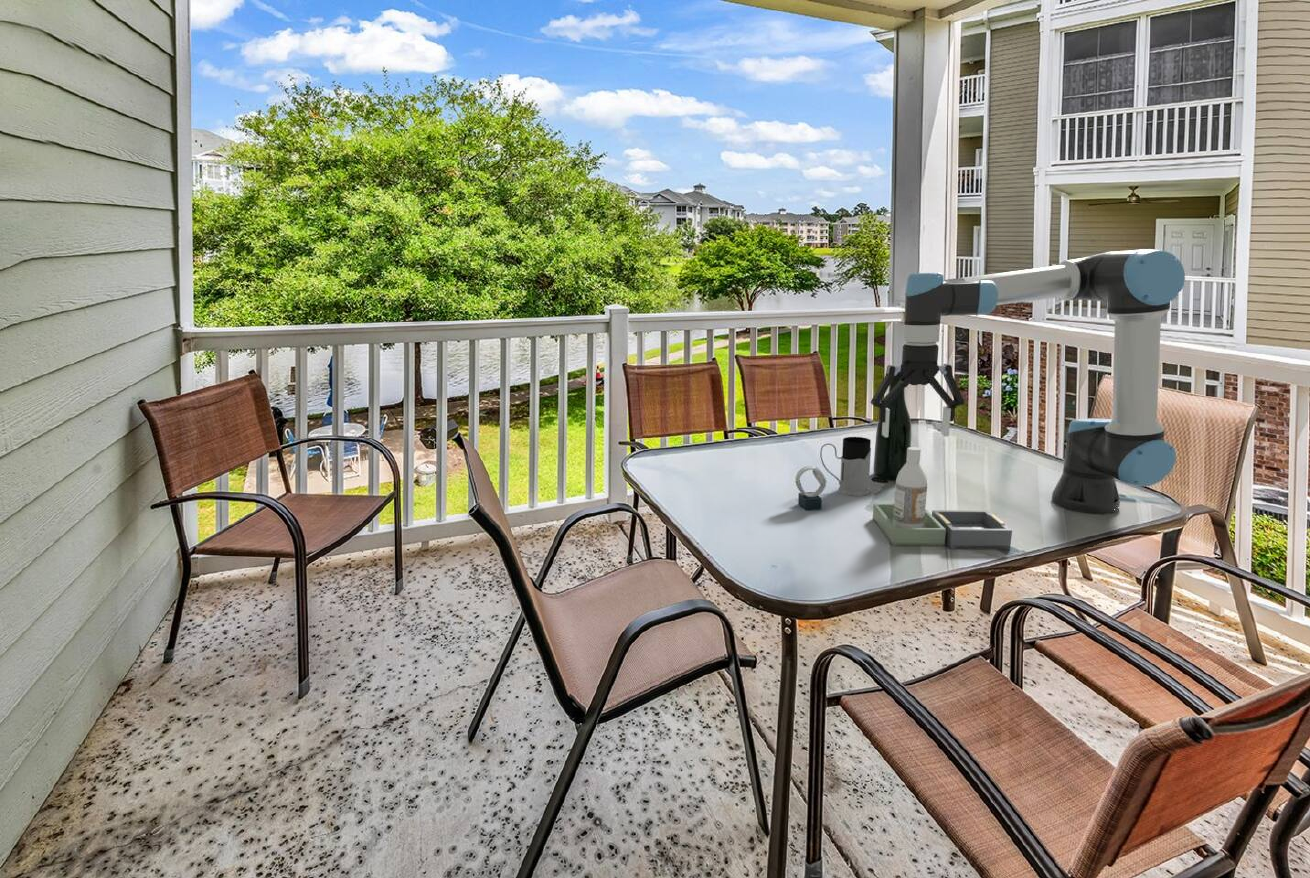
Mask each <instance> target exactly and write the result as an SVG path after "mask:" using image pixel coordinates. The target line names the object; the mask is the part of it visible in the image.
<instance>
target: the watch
mask: <svg viewBox="0 0 1310 878" xmlns="http://www.w3.org/2000/svg"><path fill="white" fill-rule="evenodd" d="M810 470H812V474H813V476H814V478H815V479H816V480H817V483H818V484H819V487H818V488H817V489H816V490H815V491H807V492H805V490H804V489H803V486H802V483H801V477H802V475H803V474H804V473H806V472H807V471H810ZM794 482H795V485H796V487H797V489H798V491H799V492H798V506H800V507H801V508H803V510H804V511H807V512H808V511H821V510H822V505H823V503H822V502H823V501H822V499H823V498H822V497H821V496H819V495H821V494H822V493H823V491H824V490H825V489H826V486H827V484H826V483H828V482H827V478H826V476H825V475H824V474H823V472H822V471H821V469H820V468H819V467H817V466H813V465H808V466H804V467H802V468H800V469H799V470H798V472H797V474H796V476H795V481H794Z"/></svg>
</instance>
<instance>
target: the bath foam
mask: <svg viewBox="0 0 1310 878" xmlns="http://www.w3.org/2000/svg"><path fill="white" fill-rule="evenodd" d="M921 450H922V449H921V448H919V447H917V446H911V447H909V448H907V460H906V464H905V465H904V466H903V467H902V469H901V470H900V471H899V473H898V475H897V479H896V480H895V488H894V489H895V490H894V503H893V504H894V517H893V525H894V526H895V527H896V528H924V520H925V509H926V505H927V496H928V495H927V494H928V493H927V492H928V478H927V475H926V472H925V470H924V469H923V467H922V465H921V464H920V461H921Z"/></svg>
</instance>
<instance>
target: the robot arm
mask: <svg viewBox="0 0 1310 878" xmlns="http://www.w3.org/2000/svg"><path fill="white" fill-rule="evenodd" d="M1185 280H1186V274H1185V268H1184V265H1183V264H1182V262H1181V261H1180V259H1179V258H1178V257H1177V256H1175V255H1174V254H1173V253H1171V252H1169V251H1167V250H1162V249H1151V248H1148V249H1147V248H1146V249H1145V248H1143V249H1134V250H1120V251H1117V250H1115V251H1107V252H1102V253H1101V252H1100V253H1097V254H1094V255H1088V256H1084V257H1080V258H1075V259H1067V260H1063V261H1062V262H1060V263H1058V265H1055V266H1053V265H1052V266H1047V267H1045V266H1044V267H1037V268H1030V269H1029V268H1028V269H1022V270H1013V271H1006V272H1005V271H1003V272H999V273H998V272H997V273H990V274H989V273H988V274H979V275H973V276H965V277H958V278H950V279H949V278H947V279H944V274H943V273H942V272H918V273H917V272H916V273H911V274H909V275H908V277H907V280H906V286H905V292H904V296H905V301H904V303H905V305H904V323H903V338H902V339H903V340H902V341H903V342H904V343H905V344H903V345H902V352H901V353H902V354H901V365H900V366H898V365H897V366H896V365H892V364H889V365H887V367H886V372H885V375H884V377H883V378H882V380H881V383H880V384H879V385H878V387H877V390H875V391H876V392H875V393H874V395H873V397H872V398H871V401H870V404H871V405H872V406H873V407H876V408H878V418H877V420H879V422H881V423H882V435H883V436H884V437H888V434H889V415H890V409H888V408H887V407H888V405H889V404H890V403H891V402H892V401H893V400H894V399H895V398H896V397H897V396H898V395H899V393H900V392H901V391H902V390H903V389H904V388H905V389H906V388H907V387H908V386H909V385H911V386H919V385H921V386H927V385H928V384H929V385H930V386H931V388H933V390H934V391H935V392H936V394H937V395H939V398H941V400H942V401H943V402H944V403H945V404H946V406H942V416H941V417H942V419H941V432H940V434H941V435H943V436H944V437H950V427H951V422H954V420H955V411H956V409H957V408H958V406H964V404H965V400H964V397H963V395H962V394H961V391H960V389H959V386H958V385H957V382H956V380H955V378H954V375H953V366H952V365H951V364H949V363H943V364H940V365H939V364H938V362H939V361H938V360H939V347H940V346H939V344H937V343H938V342H940V332H941V331H940V330H941V318H942V317H948V316H980V315H989V314H991V313H992V312H993V311H994V310H995V309H996V307H997V306H999V305H1001V306H1002V305H1007V304H1014V303H1017V304H1018V303H1025V302H1033V301H1041V300H1048V299H1049V300H1050V299H1058V298H1059V299H1060V300H1062V301H1064V302H1065V301H1066V302H1067V301H1068V302H1069V301H1078V300H1080V301H1081V300H1082V301H1093V302H1094V301H1095V302H1106V303H1107V304H1106V305H1107V307H1106V314H1107V315H1108V316H1109V317H1111V318H1112V319H1113V320H1114V337H1113V338H1114V347H1113V380H1112V381H1113V383H1112V384H1113V386H1112V388H1113V389H1112V418H1076V419H1073V420H1071V421H1070V423H1069V425H1068V429H1067V432H1066V444H1065V453H1064V460H1063V468H1062V469H1063V470H1062V474H1061V476H1060V478H1059V480H1058V481H1057V483H1056V485H1055V487H1054V489H1053V491H1052V493H1051V494H1052V495H1051V502H1052V503H1053V504H1055V505H1056V506H1058V507H1060V508H1063V509H1066V510H1070V511H1075V512H1079V513H1086V514H1094V515H1095V514H1097V515H1100V514H1101V515H1102V514H1103V515H1105V514H1113V513H1117V512H1118V511H1119V510H1120V507H1121V506H1120V505H1121V500H1120V495H1119V491H1118V487H1117V484H1116V483H1117V482H1116V480H1117V479H1118V480H1120V481H1121V482H1122V483H1125V484H1129V485H1133V486H1136V487H1150V486H1155V485H1156V484H1159V483H1160V482H1162V481H1164V480H1165V478H1166V477H1168V476H1169V475H1170V473H1171V472H1172V471H1173V470H1174V467H1175V465H1176V461H1177V452H1176V450H1175V448H1174V446H1172V444H1170V443H1169V442H1167V441H1166V440H1165V426H1164V425H1163V424H1161V422H1159V421H1158V402H1159V401H1158V400H1159V381H1160V380H1159V378H1160V377H1159V376H1160V374H1159V373H1160V354H1161V353H1160V351H1161V350H1160V348H1161V347H1160V346H1161V327H1162V323H1161V322H1162V317H1163V316H1164V315H1165V314H1167V313H1168V312H1169V311H1170V310H1171V302H1172V301H1173V300H1175V299H1176V298H1177V297H1178V296H1179V292H1182V290H1183V288H1184V286H1185V282H1186V281H1185ZM939 371H940V374H941V375H943V378H944V379H945V382H946V384H947V386H948V390H949V391H950V393H951V395H952V397H953V399H952V397H951V396H950V395H949V394H948V393H947V391H946V390H945V389H944V388H943V387H942V385H941V384H940V383H939V381H938V380H937V379H936V375H937V374H938V373H939ZM898 372H900V373H901V374H902V376H903V377H902V378H901V379H900V380H899V381H898V383H897V384H896V385H895V386H894V387H893V389H892V390H891V391H890V392H889V391H888V390H889V385H890V384H891V382H892V380H893V378H894V376H896V375H897V373H898ZM887 391H888V393H887V394H886V392H887ZM1118 507H1119V508H1118ZM1114 509H1115V510H1114Z"/></svg>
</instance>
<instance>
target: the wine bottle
mask: <svg viewBox="0 0 1310 878" xmlns="http://www.w3.org/2000/svg"><path fill="white" fill-rule="evenodd" d="M902 377H903V376H902V374H901V373H900V372H898V373H897V375H896V376H894V378H893V380H892V382H891V384H890V385H889V387H888V393H889V392H890V391H891V390H892V389H893V387H894V386H895V385H896V384H897V383H898V381H899V380H900V379H901V378H902ZM905 389H906V387H905V388H904V389H903V390H902V391H901V392H900V393H899V395H898V396H897V397H896V398H895V399H894V400H893V401H892V402H891V403H890V404H889V405H888V407H887V408H888V409H890V415H889V434H888V437H884V436H883V435H882V423H881V422H879V419H877V420H878V421H877V424H876V430H875V431H876V433H875V442H874V455H873V456H874V457H873V465H872V466H873V468H872V469H873V471H872V474H873V475H874V476H875V477H876V478H878V479H881V480H885V481H886V480H887V481H896V479H897V475H898V473H899V471H900V470H901V469H902V467H903V466H904V465H905V464H906V460H907V448H909V447H912V440H913V439H912V438H913V435H912V434H913V433H912V431H913V429H912V421H911V420H912V419H911V416H910V413H909V410H908V406H907V404H906V403H907V402H906V399H905V398H906V396H905V394H906V393H905V391H906V390H905Z"/></svg>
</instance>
